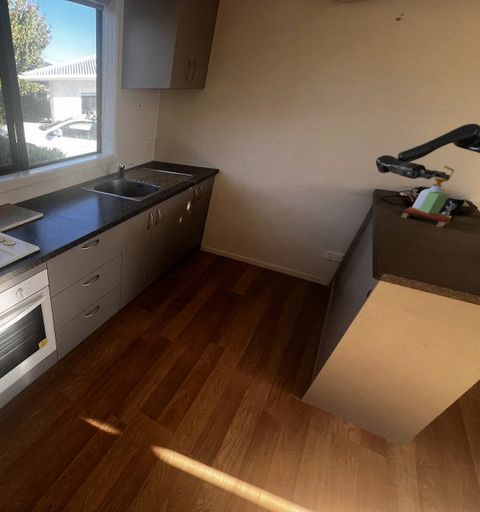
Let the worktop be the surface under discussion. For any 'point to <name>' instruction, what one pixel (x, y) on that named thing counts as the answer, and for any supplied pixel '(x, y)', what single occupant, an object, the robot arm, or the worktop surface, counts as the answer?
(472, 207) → the bolt
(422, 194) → the soap bottle
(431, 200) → the green bar
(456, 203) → the beverage can
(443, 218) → the rod rack
